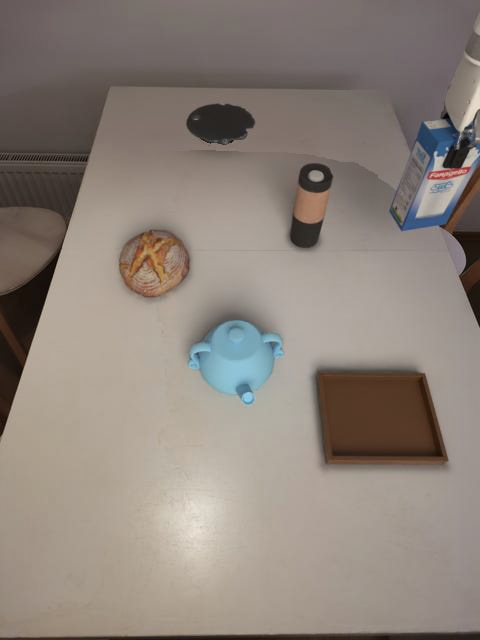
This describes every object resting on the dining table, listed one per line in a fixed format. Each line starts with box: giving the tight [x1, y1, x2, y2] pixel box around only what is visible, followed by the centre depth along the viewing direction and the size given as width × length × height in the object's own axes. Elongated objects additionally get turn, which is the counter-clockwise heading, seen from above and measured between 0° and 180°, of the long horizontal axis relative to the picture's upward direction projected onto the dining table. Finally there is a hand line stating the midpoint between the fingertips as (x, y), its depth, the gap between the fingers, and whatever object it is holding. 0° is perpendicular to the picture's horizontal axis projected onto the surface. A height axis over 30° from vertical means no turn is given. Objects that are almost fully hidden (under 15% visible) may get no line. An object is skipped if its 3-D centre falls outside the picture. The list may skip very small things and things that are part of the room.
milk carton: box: [388, 118, 480, 232], centre depth 82 cm, size 10×6×20 cm, turn 102°
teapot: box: [187, 319, 285, 407], centre depth 83 cm, size 20×20×13 cm
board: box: [185, 102, 256, 145], centre depth 135 cm, size 22×22×5 cm
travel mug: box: [290, 162, 334, 249], centre depth 103 cm, size 8×8×20 cm
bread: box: [118, 229, 190, 298], centre depth 101 cm, size 16×20×10 cm
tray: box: [316, 371, 449, 466], centre depth 83 cm, size 22×18×3 cm
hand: (446, 153), depth 77 cm, fingers closed on milk carton, 7 cm apart
